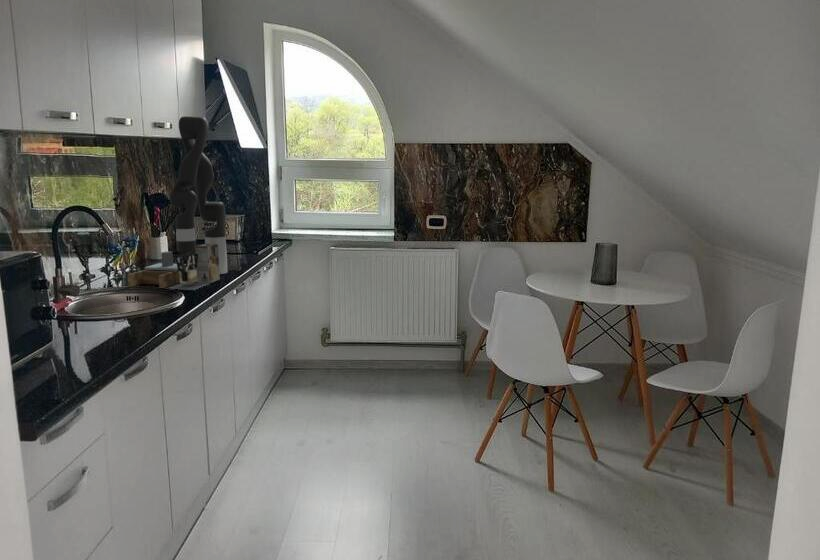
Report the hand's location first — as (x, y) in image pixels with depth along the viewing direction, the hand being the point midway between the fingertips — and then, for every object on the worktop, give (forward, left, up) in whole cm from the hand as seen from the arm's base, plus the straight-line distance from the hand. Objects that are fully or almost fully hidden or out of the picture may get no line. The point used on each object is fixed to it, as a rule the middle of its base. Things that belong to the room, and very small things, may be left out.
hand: (188, 279), depth 264 cm
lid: (-12, -16, +2) cm, 20 cm away
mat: (0, 0, -3) cm, 3 cm away
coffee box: (-13, +2, -3) cm, 14 cm away
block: (0, 0, -1) cm, 1 cm away
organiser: (-6, -16, -3) cm, 17 cm away
